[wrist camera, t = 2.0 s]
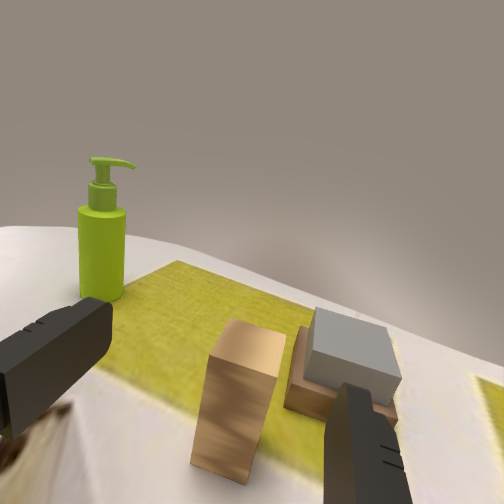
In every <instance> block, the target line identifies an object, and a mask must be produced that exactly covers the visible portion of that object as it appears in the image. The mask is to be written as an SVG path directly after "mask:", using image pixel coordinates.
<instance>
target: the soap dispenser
mask: <svg viewBox="0 0 504 504" xmlns="http://www.w3.org/2000/svg"><path fill="white" fill-rule="evenodd" d="M89 162H90V163H91V164H92V165H95V168H96V169H95V171H96V180H94V181H93V182H90V183H89V184H88V205H84V206H81V207H79V208H78V240H79V277H80V296H81V298H82V299H84V298H86V297H93V298H96V299H99V300H102V301H105V302H111V301H114V300H116V299H118V298H120V297H121V296H122V294H123V281H124V253H125V226H126V224H125V223H126V211H125V210H124V209H122V208H120V207H117V206H116V198H117V195H116V194H117V186H116V185H114V184H113V183H112V182H110V166H124V167H128V168H131V169H135V168H136V166H135V165H134V164H132V163H130V162H126V161H124V160H120V159H115V158H104V157H103V158H102V157H90V158H89Z"/></svg>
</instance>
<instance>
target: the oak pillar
mask: <svg viewBox="0 0 504 504" xmlns="http://www.w3.org/2000/svg"><path fill="white" fill-rule="evenodd" d="M286 336H287V335H285V334H282V333H278V332H275V331H272V330H269V329H266V328H262V327H259V326H256V325H253V324H250V323H246V322H243V321H240V320H237V319H234V318H231V317H230V319H229V321H228V323H227V324H226V326H225V328H224V330H223V331H222V333H221V335H220V337H219V338H218V340H217V342H216V344H215V346H214V347H213V349H212V351H211V353H210V354H209V359H208V365H207V371H206V376H205V382H204V387H203V393H202V399H201V404H200V410H199V416H198V421H197V427H196V432H195V438H194V444H193V449H192V455H191V461H190V464H193V465H195V466H198V467H200V468H203V469H205V470H208V471H210V472H213V473H215V474H218V475H220V476H223V477H225V478H228V479H230V480H233V481H235V482H238V483H240V484H243V485H246V481H247V478H248V475H249V471H250V468H251V465H252V461H253V458H254V454H255V451H256V448H257V444H258V441H259V438H260V434H261V431H262V428H263V424H264V421H265V418H266V414H267V411H268V408H269V404H270V401H271V397H272V394H273V391H274V387H275V384H276V381H277V377H278V373H279V368H280V363H281V359H282V354H283V350H284V345H285V341H286Z"/></svg>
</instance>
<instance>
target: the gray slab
mask: <svg viewBox="0 0 504 504" xmlns="http://www.w3.org/2000/svg"><path fill="white" fill-rule="evenodd" d="M303 379H305V380H308V381H311V382H314V383H317V384H320V385H323V386H326V387H329V388H332V389H335V390H338V391H339V390H340V387H341V385H342V383H343V382H346V383H349V384H352V385H355V386H358V387H361V388H364V389H367V390H369V391H370V393H371V398H372V402H374V403H377V404H380V405H382V406H385V407H388V405H389V403H390V401H391V399H392V397H393V395H394V393H395V391H396V389H397V387H398V385H399V383H400V382H401V380H402V376H401V373H400V370H399V367H398V364H397V360H396V357H395V354H394V351H393V348H392V344H391V341H390V338H389V335H388V332H387V328H385V327H382V326H379V325H375V324H372V323H369V322H365V321H362V320H359V319H355V318H352V317H349V316H345V315H342V314H338V313H335V312H332V311H328V310H325V309H322V308H318V307H316V309H315V312H314V315H313V318H312V321H311V325H310V328H309V331H308V338H307V347H306V355H305V364H304V373H303Z"/></svg>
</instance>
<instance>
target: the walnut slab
mask: <svg viewBox="0 0 504 504" xmlns="http://www.w3.org/2000/svg"><path fill="white" fill-rule="evenodd" d="M308 331H309V328H306V327H303V326H300V328H299V331H298V334H297V338H296V341H295V344H294V348H293V354H292V360H291V366H290V372H289V378H288V383H287V389H286V395H285V401H284V407H283V408H286V409H289V410H292V411H295V412H298V413H300V414H303V415H306V416H309V417H312V418H315V419H317V420H320V421H323V422H326V423H327V419H328V416H329V414H330V411H331V409H332V406H333V404H334V402H335V399H336V397H337V394H338V392H339V391H338V390H335V389H332V388H329V387H326V386H323V385H320V384H317V383H314V382H311V381H308V380H305V379H303V373H304V364H305V355H306V347H307V338H308ZM372 404H373V409H374V411H376V412H379V413H381V414H384V415H385V416H386V418H387V419H388V421H389V423H390V424H391V426H392V428H393V429H394V427H395V425H396V423H397V421H398V417H397V413H396V409H395V405H394V401H393V397H392V399H391V401H390V403H389V405H388V407H385V406H382V405H380V404H377V403H374V402H372Z"/></svg>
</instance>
